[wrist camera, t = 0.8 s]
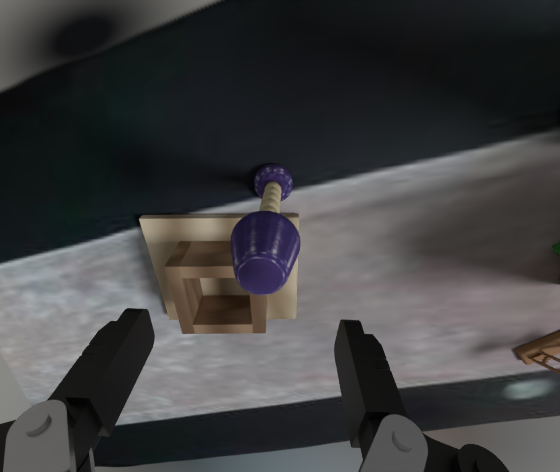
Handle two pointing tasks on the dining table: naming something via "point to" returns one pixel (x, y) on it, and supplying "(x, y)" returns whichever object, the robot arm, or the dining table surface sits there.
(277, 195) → the toy lamp
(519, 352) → the openwork figure ornament
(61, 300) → the dining table surface
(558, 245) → the hardback book
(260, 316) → the socket board
